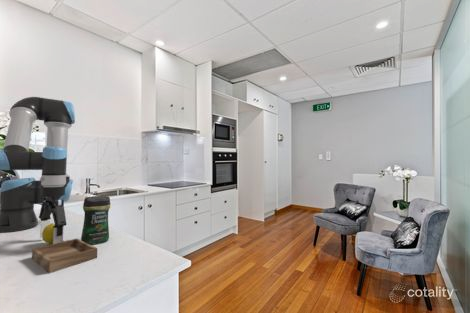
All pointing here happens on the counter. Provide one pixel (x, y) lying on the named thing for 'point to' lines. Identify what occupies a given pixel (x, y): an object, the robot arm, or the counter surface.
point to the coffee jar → (96, 220)
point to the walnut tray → (63, 254)
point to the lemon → (48, 233)
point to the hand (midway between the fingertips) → (51, 240)
